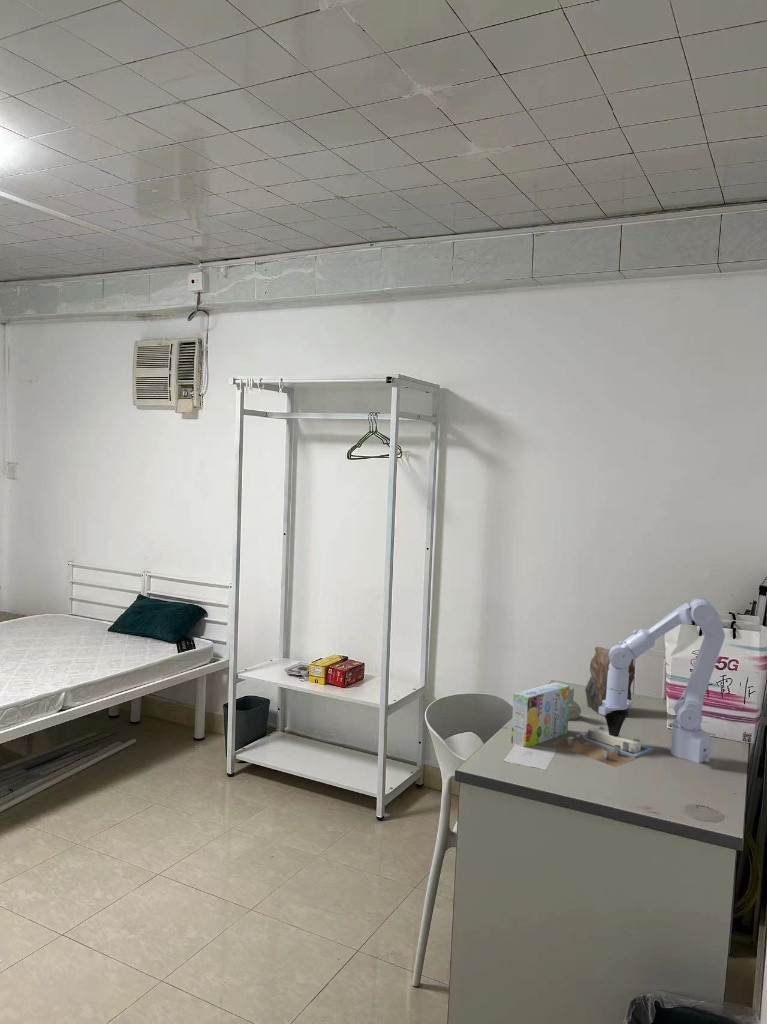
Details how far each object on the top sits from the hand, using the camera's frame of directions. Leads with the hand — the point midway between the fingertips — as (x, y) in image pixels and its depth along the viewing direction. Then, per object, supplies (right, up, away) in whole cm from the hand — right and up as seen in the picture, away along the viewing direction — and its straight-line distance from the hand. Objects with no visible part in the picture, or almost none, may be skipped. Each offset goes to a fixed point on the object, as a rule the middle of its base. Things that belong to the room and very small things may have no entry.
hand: (613, 735), depth 213 cm
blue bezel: (0, -2, 0) cm, 2 cm away
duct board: (-4, -3, -3) cm, 6 cm away
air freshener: (-9, -2, +25) cm, 26 cm away
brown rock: (+8, -3, +36) cm, 37 cm away
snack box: (-21, -2, +2) cm, 21 cm away
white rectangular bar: (0, -2, 0) cm, 2 cm away
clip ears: (-4, -3, -3) cm, 6 cm away
